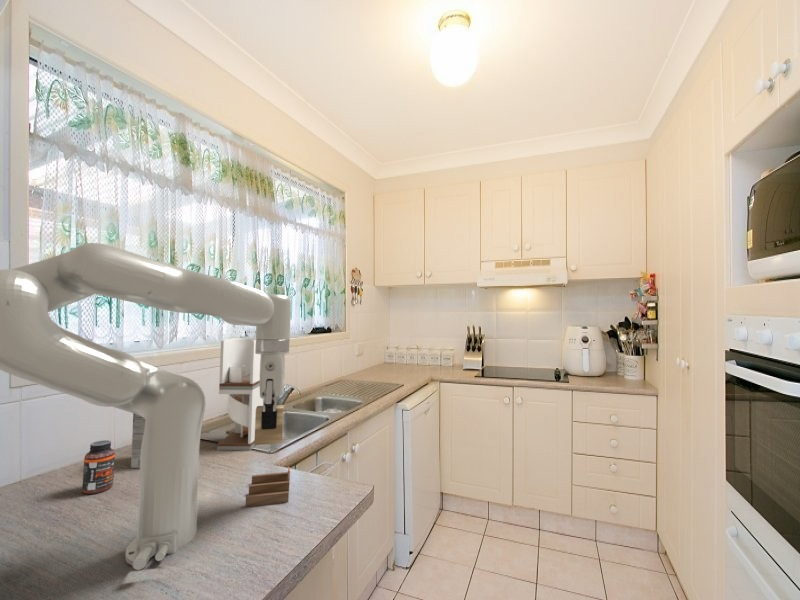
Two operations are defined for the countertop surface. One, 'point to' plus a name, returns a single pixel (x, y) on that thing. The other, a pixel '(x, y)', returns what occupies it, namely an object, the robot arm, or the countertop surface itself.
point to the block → (269, 434)
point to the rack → (269, 489)
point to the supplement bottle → (98, 467)
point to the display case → (240, 390)
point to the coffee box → (137, 439)
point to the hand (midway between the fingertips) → (269, 425)
